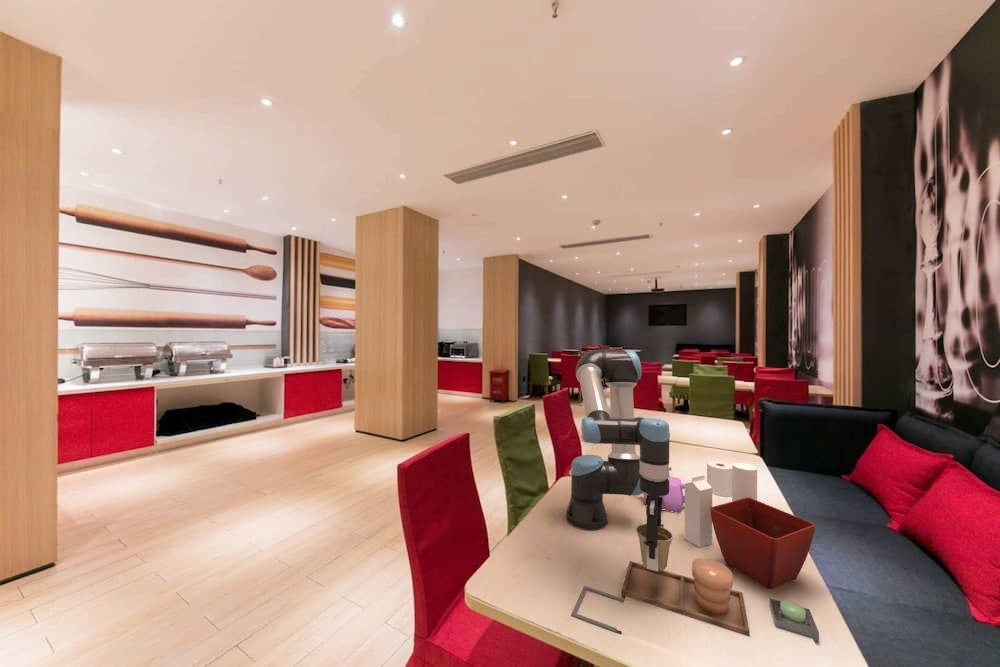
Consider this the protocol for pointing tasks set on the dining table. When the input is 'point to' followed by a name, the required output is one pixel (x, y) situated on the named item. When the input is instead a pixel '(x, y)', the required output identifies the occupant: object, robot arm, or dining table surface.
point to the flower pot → (662, 542)
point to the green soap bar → (792, 611)
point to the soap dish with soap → (792, 626)
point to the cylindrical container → (744, 481)
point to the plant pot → (762, 540)
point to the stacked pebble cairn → (712, 585)
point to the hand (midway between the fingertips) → (654, 559)
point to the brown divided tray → (681, 596)
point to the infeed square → (574, 614)
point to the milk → (698, 512)
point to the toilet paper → (720, 478)
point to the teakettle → (672, 495)
